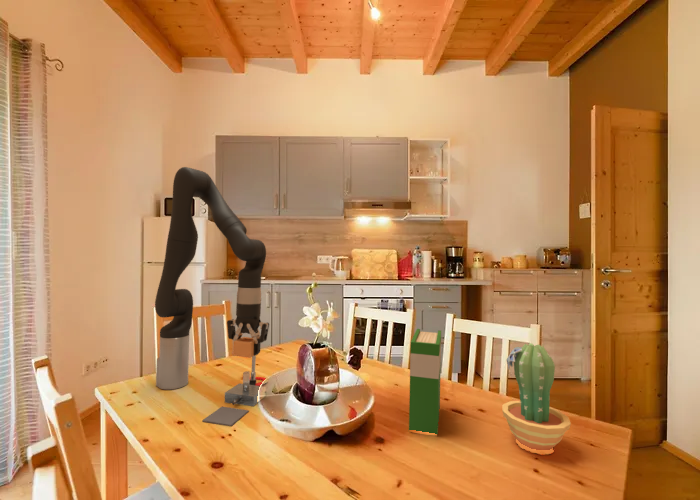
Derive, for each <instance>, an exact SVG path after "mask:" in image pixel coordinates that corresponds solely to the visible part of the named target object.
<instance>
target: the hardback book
mask: <svg viewBox="0 0 700 500" xmlns="http://www.w3.org/2000/svg"><path fill="white" fill-rule="evenodd" d="M409 353H410V355H409V356H410V363H409V364H410V365H409V405H408V409H409V410H408V411H409V413H408V431H409V430H416V431H422V432H429V433H435V434H438V435H439V433H438V432H439V424H438V422H440V412H439V409H441V373H442V372H441V367H442V366H441V365H442V362H441V361H442V330H437V332H434V331H433V332H432V331H431V332H430V331H421V328H417V329H416V330H415V332H414V335H413V337H412V338H411V341H410V352H409Z"/></svg>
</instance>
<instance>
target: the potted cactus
mask: <svg viewBox="0 0 700 500" xmlns="http://www.w3.org/2000/svg"><path fill="white" fill-rule="evenodd" d="M506 364H507V369H508V370H511V368H512V367H513V369H514V371H513V372H514V376H515V379H516V382H517V385H518V393H519V400H510V401H507V402H505V403H503V404H502V406H501V407H502V415H503V417H504V418H505V419H506V422H507V425H508V427H509V430H510V432H511V434H512V435H513V436H514V439H515V438H516V439H517V440H518V441H519V442H520V443H521V444H523V445H525V446H527V447H529V448H531V449H536V450H550V449H552V448H553V447H554V448H555V446H557V445H558V444H559V443H560V442H561V441H562V439H563V437H564V435H565V433H566V432H567V431H569V430H570V427H571V424H572V422H571V421H570V418H569V416H568V415H567V414H565V413H563V412H562V411H561V410H559V409H557V408H555V407H552V406H550V398H551V397H550V394H551V393H550V392H551V389H552V386H553V383H554V380H555V369H556V365H555V362H554V360H553V358H552V357H551V356H550V354H549V352H548V351H547V350H546V348H545V347H544V346H543V345H541V344H535V345H534V344H533V343H529V344H526V343H524V344H523V346H516V347H514V348H512V349H511V352H510V353H509V355H508V356H507V358H506Z"/></svg>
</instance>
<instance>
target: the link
mask: <svg viewBox="0 0 700 500" xmlns="http://www.w3.org/2000/svg"><path fill="white" fill-rule="evenodd" d="M254 344H255V343H254V340H253V338H252V337H251V336H250V337H249V336H243V337H241V338H240V339H238V340H236V341H233V348H232V350H233V351H232V353H233V354H232V356H234V357H235V356H236V357H240V358H250V359H252V357H253V356H254Z"/></svg>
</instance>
